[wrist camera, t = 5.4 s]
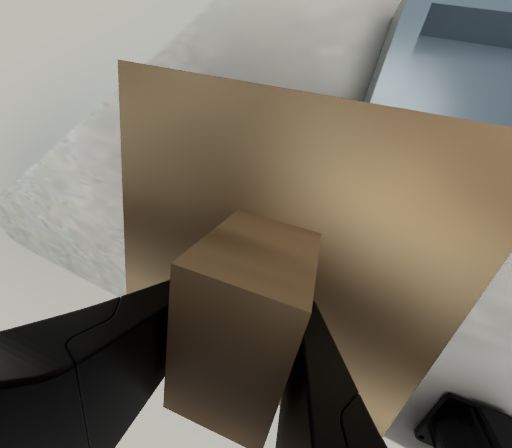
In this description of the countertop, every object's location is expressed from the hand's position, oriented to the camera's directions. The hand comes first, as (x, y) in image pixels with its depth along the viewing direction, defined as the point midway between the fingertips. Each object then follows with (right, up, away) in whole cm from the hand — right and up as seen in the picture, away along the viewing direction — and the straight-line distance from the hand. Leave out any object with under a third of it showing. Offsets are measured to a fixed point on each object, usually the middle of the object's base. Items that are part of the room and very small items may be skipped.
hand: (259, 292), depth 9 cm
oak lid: (+1, +1, +2) cm, 2 cm away
